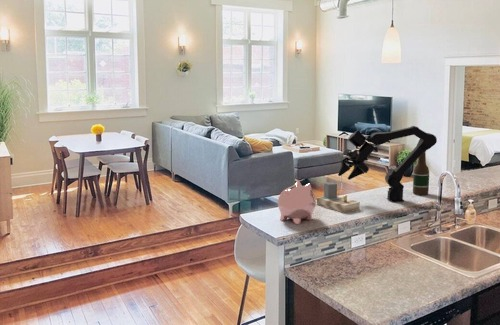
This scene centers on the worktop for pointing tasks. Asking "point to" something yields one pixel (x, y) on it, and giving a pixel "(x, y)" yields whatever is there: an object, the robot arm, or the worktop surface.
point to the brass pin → (345, 198)
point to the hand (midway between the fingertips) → (343, 177)
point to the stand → (338, 204)
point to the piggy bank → (297, 203)
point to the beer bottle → (421, 176)
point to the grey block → (330, 190)
